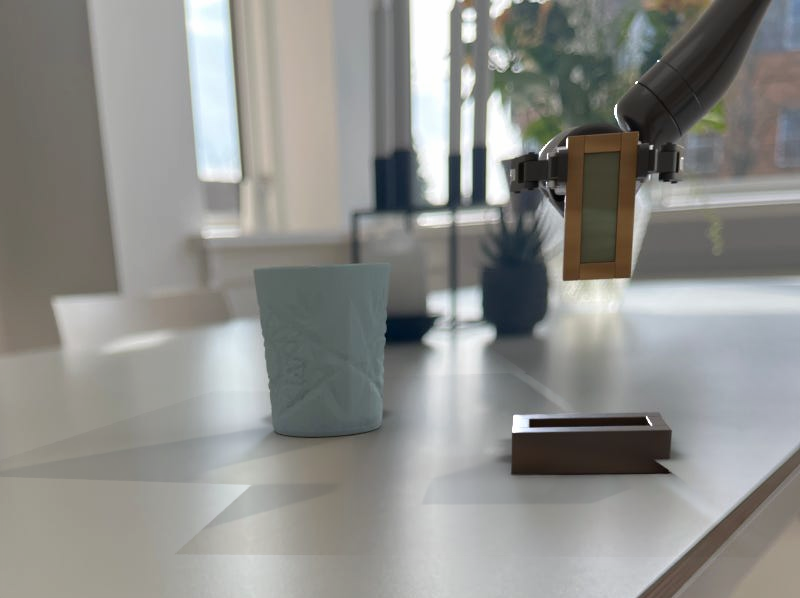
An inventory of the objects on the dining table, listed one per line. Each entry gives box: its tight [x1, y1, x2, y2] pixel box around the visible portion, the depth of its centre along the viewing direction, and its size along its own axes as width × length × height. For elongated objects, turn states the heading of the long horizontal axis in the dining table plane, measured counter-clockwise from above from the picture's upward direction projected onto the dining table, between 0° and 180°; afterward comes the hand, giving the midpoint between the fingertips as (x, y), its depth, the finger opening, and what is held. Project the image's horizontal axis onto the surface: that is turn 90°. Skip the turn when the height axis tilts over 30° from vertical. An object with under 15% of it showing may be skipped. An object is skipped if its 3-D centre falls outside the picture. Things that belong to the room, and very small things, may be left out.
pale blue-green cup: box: [252, 262, 391, 438], centre depth 79 cm, size 10×10×12 cm
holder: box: [510, 411, 673, 475], centre depth 63 cm, size 6×9×2 cm
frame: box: [561, 132, 639, 282], centre depth 78 cm, size 2×5×10 cm, turn 79°
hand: (602, 163), depth 74 cm, fingers closed on frame, 5 cm apart
